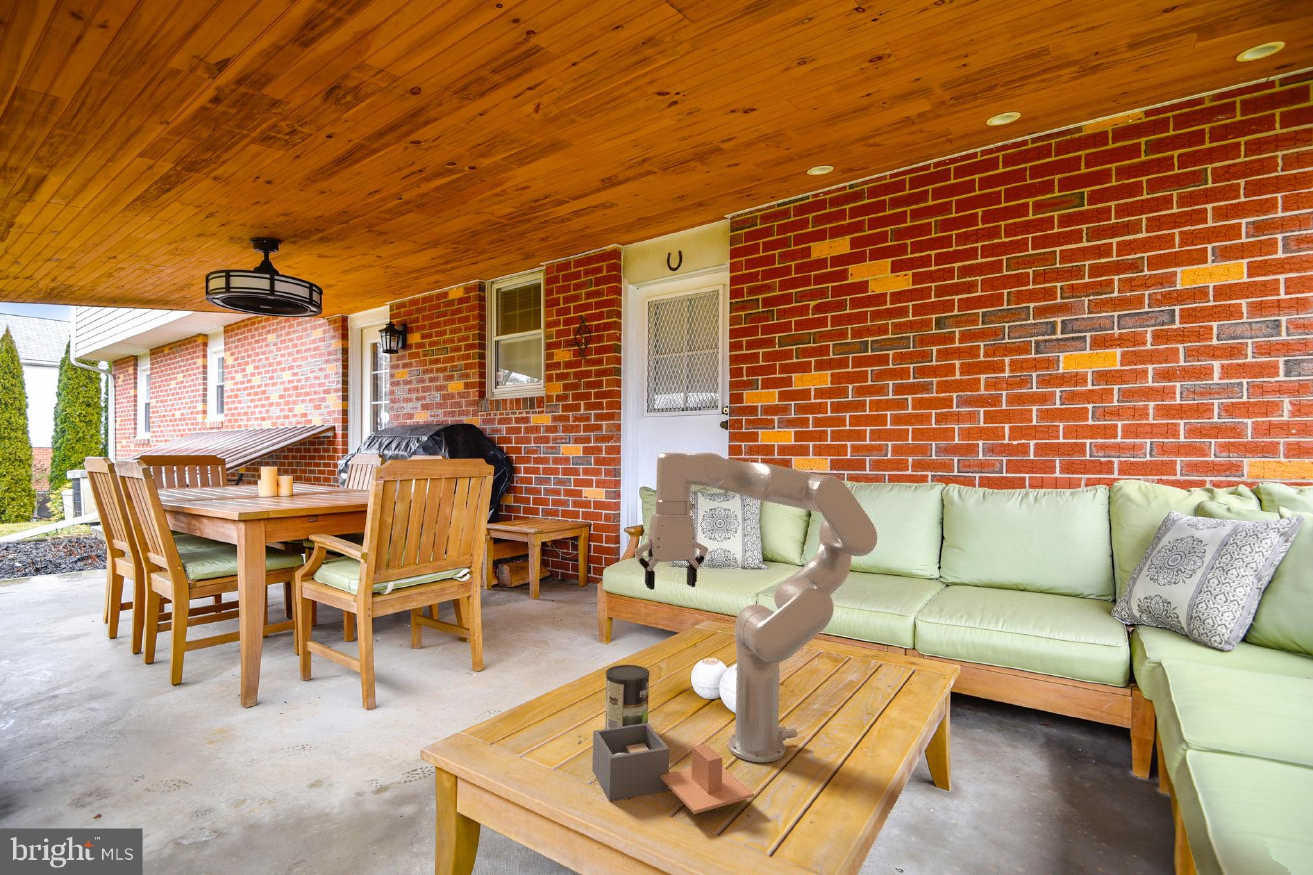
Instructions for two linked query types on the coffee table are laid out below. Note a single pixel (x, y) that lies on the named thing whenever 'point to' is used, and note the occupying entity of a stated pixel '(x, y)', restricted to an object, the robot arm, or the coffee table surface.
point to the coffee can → (626, 696)
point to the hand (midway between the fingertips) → (670, 587)
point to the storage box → (630, 761)
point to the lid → (706, 782)
